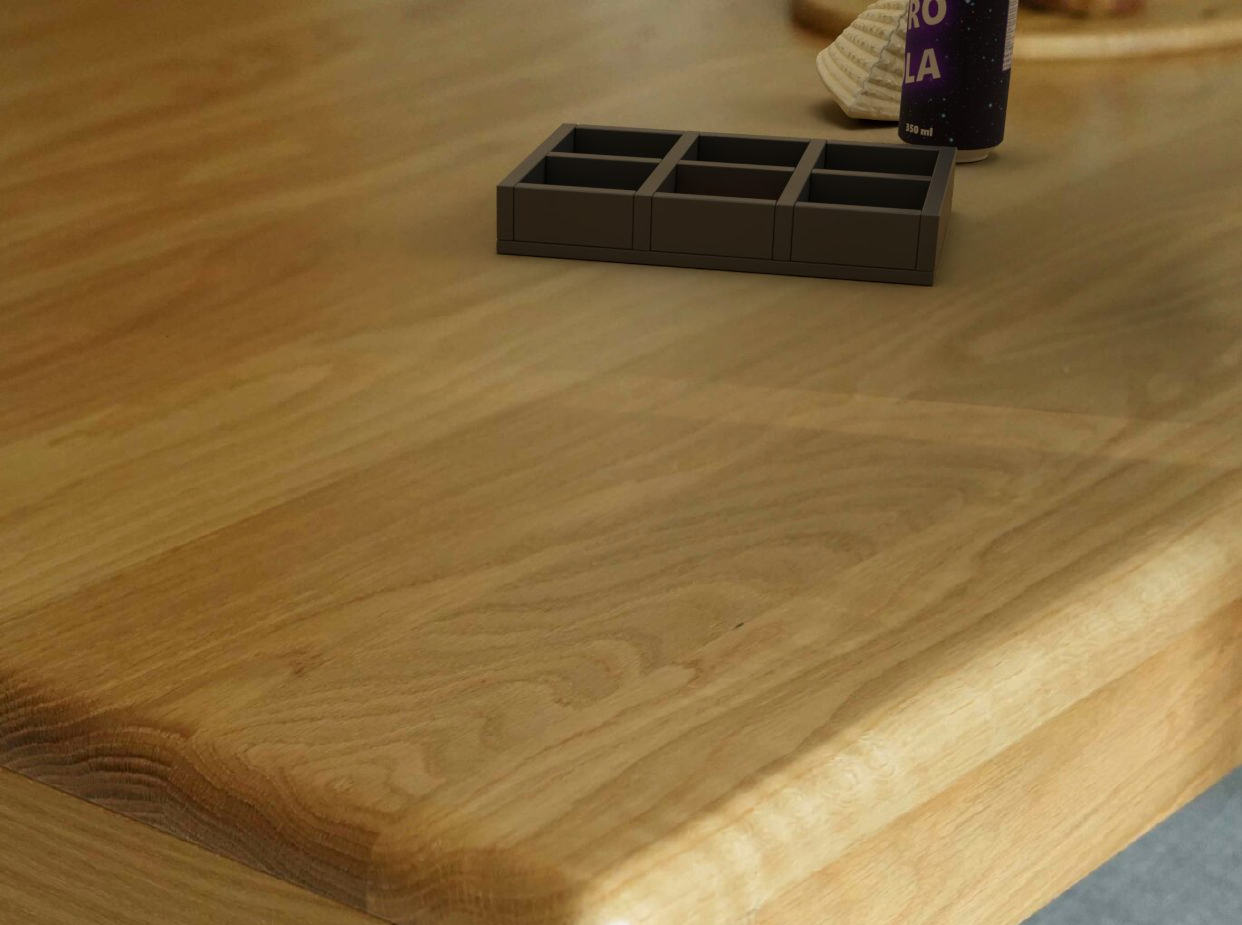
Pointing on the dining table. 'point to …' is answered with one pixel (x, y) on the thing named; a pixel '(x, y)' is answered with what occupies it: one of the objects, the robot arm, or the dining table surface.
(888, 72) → the seashell
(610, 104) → the dining table surface
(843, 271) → the grid
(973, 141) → the beverage can
